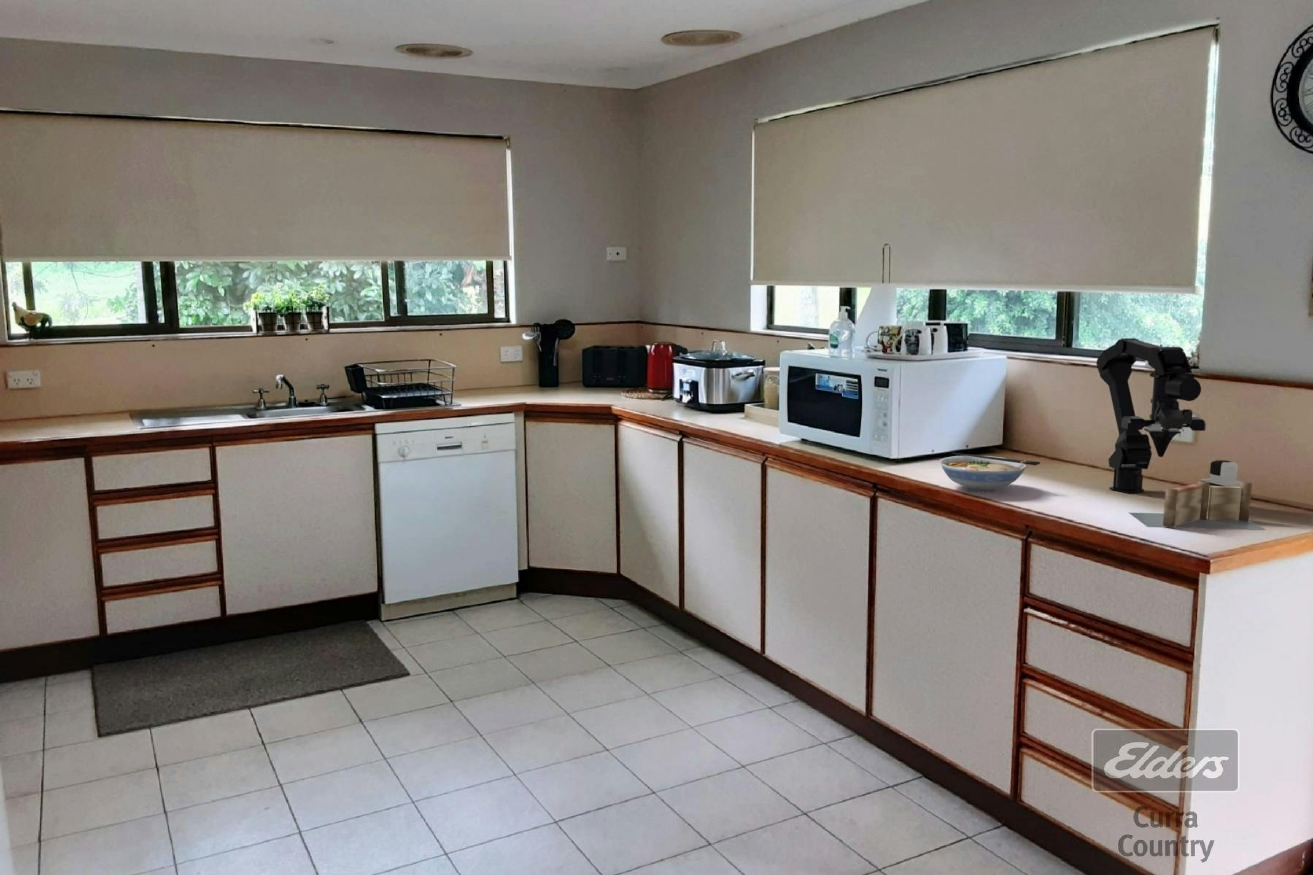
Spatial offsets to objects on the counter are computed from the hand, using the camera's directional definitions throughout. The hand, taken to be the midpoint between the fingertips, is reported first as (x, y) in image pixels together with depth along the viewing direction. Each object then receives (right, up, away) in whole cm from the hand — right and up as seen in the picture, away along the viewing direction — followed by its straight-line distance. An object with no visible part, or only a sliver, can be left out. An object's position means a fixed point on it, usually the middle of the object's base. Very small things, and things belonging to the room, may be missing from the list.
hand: (1160, 456), depth 263 cm
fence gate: (-5, -15, -21) cm, 27 cm away
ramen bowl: (-40, -10, +19) cm, 45 cm away
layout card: (-1, -15, -19) cm, 24 cm away
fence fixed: (+6, -15, -17) cm, 24 cm away
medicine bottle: (+13, -13, -4) cm, 19 cm away
